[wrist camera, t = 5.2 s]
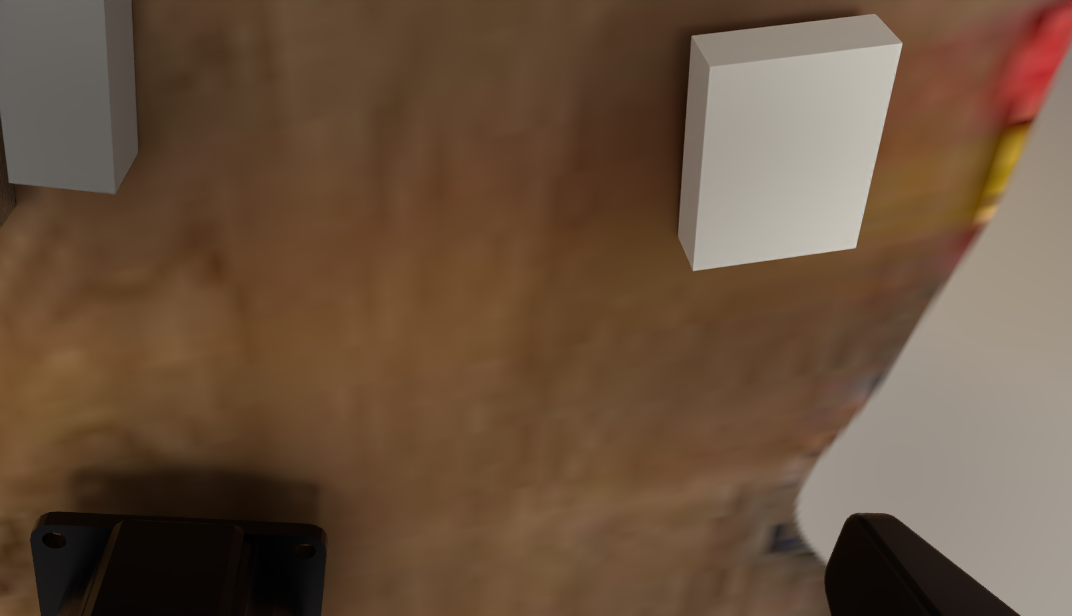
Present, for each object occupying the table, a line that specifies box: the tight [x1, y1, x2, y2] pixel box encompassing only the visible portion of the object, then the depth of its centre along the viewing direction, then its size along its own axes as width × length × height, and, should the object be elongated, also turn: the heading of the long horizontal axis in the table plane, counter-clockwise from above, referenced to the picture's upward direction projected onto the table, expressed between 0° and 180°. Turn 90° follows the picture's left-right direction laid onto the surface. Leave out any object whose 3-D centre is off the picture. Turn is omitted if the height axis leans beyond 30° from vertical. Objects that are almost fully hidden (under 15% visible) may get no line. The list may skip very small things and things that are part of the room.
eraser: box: [678, 14, 903, 271], centre depth 20 cm, size 1×5×4 cm
